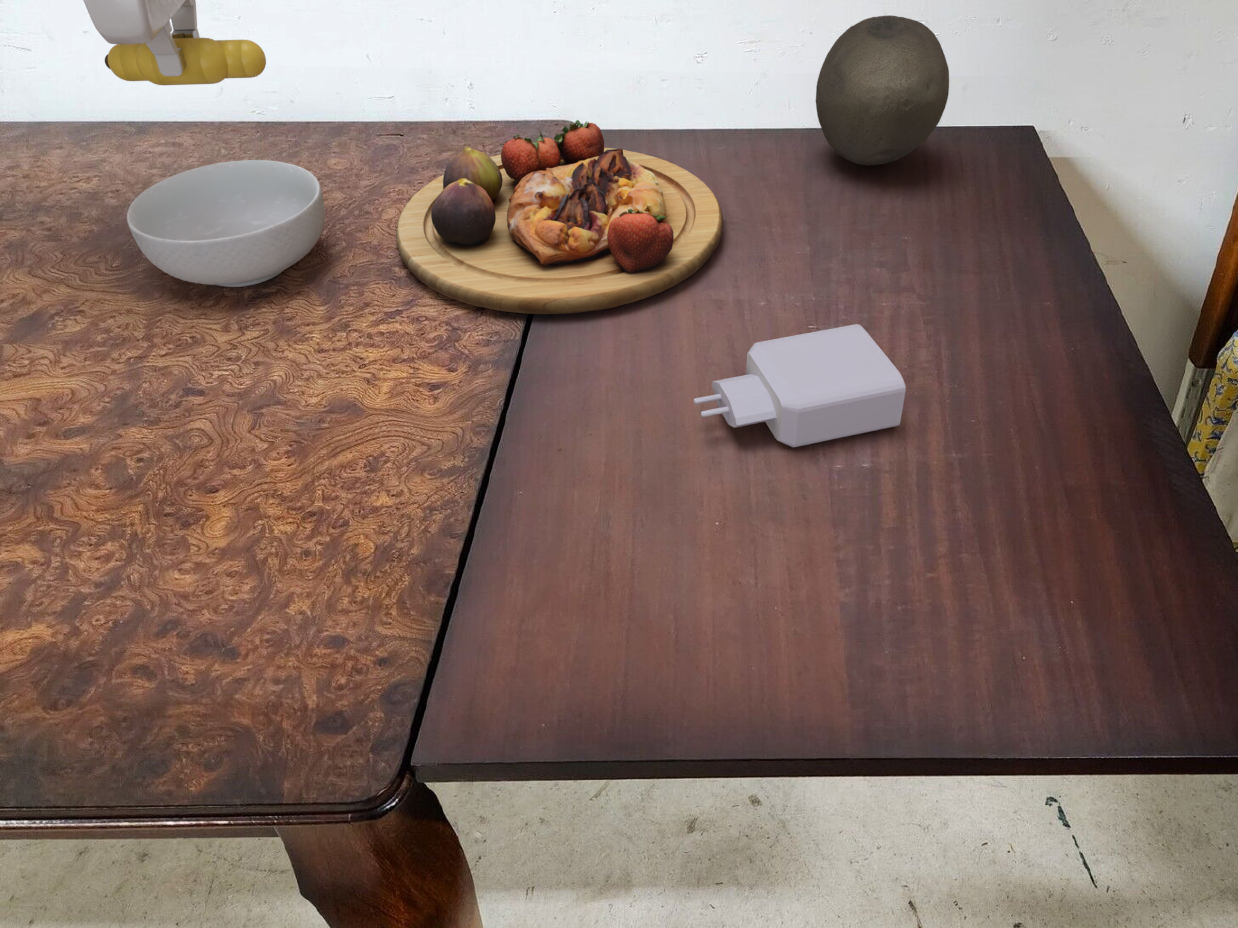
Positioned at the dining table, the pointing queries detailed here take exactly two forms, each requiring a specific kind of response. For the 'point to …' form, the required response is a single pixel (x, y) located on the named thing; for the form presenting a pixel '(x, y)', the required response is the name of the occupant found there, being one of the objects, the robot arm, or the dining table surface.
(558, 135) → the wooden plate
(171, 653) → the dining table surface
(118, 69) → the yellow lumpy cylinder
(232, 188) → the cereal bowl
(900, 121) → the kiwi fruit
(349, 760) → the dining table surface
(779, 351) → the charger
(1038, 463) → the dining table surface
